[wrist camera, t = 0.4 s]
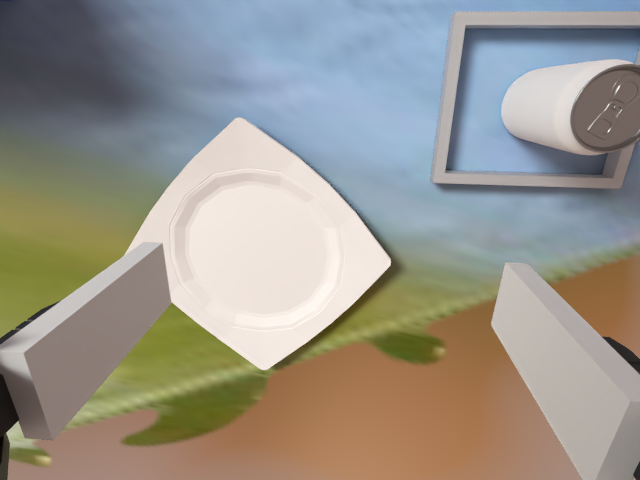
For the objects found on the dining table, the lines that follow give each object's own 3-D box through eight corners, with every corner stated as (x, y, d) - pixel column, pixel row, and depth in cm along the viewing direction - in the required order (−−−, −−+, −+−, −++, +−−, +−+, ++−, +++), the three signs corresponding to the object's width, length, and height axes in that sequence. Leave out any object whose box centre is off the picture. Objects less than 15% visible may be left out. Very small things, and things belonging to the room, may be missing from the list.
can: (585, 86, 35) (694, 82, 24) (542, 150, 37) (624, 174, 26) (525, 56, 34) (607, 38, 23) (486, 123, 37) (543, 136, 26)
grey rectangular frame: (450, 15, 34) (455, 11, 32) (661, 15, 32) (677, 11, 31) (430, 179, 39) (433, 183, 37) (609, 184, 38) (620, 188, 36)
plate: (405, 253, 43) (408, 263, 40) (269, 367, 51) (265, 381, 48) (244, 97, 38) (236, 97, 36) (121, 250, 46) (108, 259, 43)
